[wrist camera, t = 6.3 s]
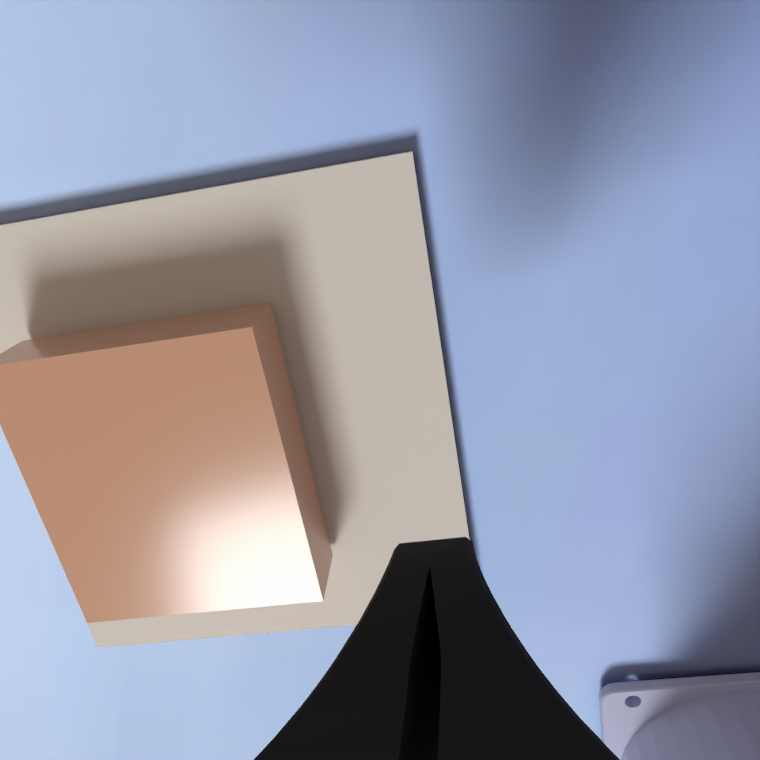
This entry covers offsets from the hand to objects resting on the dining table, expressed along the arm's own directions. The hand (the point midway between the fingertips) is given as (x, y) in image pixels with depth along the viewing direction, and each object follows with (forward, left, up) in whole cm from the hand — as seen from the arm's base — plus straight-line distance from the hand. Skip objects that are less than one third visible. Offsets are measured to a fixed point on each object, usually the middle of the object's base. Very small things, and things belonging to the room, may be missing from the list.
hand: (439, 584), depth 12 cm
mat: (+6, 0, -7) cm, 9 cm away
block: (+4, 0, -5) cm, 7 cm away
